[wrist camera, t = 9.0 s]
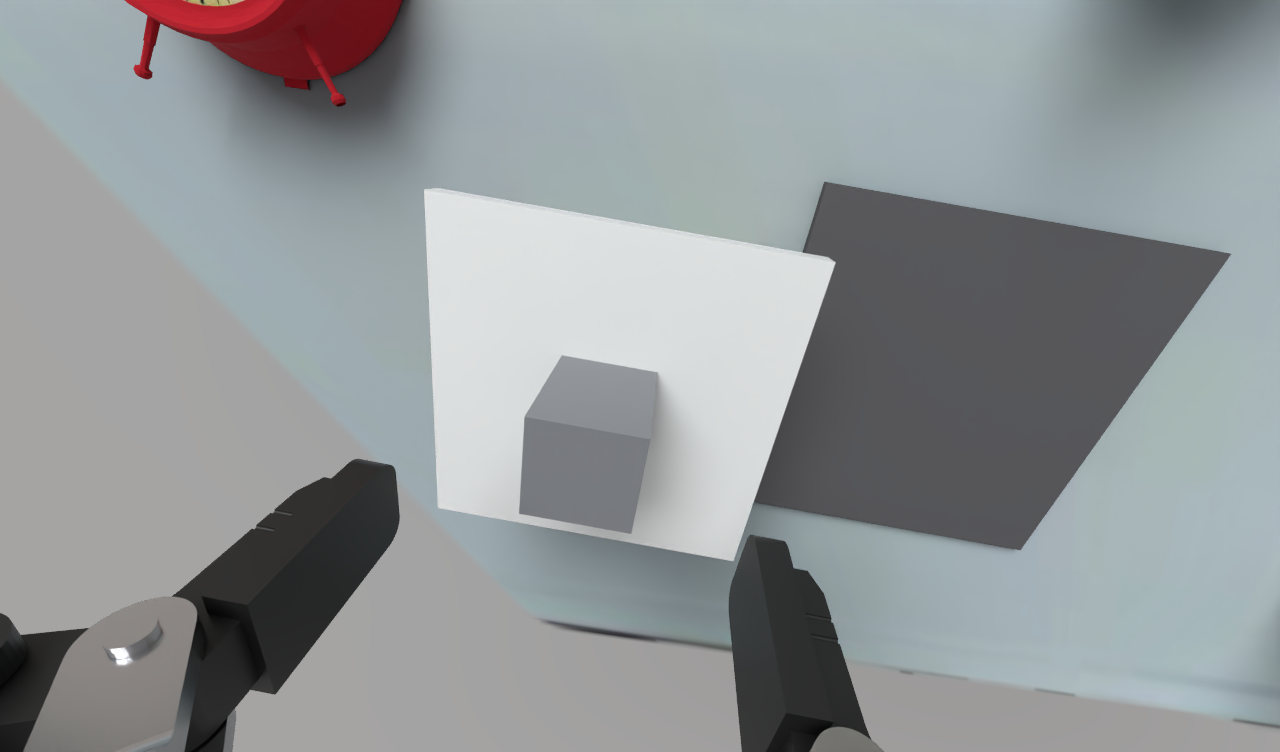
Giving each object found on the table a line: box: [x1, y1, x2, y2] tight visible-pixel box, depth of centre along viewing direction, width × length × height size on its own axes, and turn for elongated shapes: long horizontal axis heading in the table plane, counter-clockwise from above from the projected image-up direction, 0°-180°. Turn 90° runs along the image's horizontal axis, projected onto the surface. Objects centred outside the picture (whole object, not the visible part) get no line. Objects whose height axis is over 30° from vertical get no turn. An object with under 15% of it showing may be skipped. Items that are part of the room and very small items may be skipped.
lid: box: [424, 188, 836, 561], centre depth 14 cm, size 12×12×5 cm
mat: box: [754, 182, 1231, 550], centre depth 22 cm, size 16×16×1 cm
